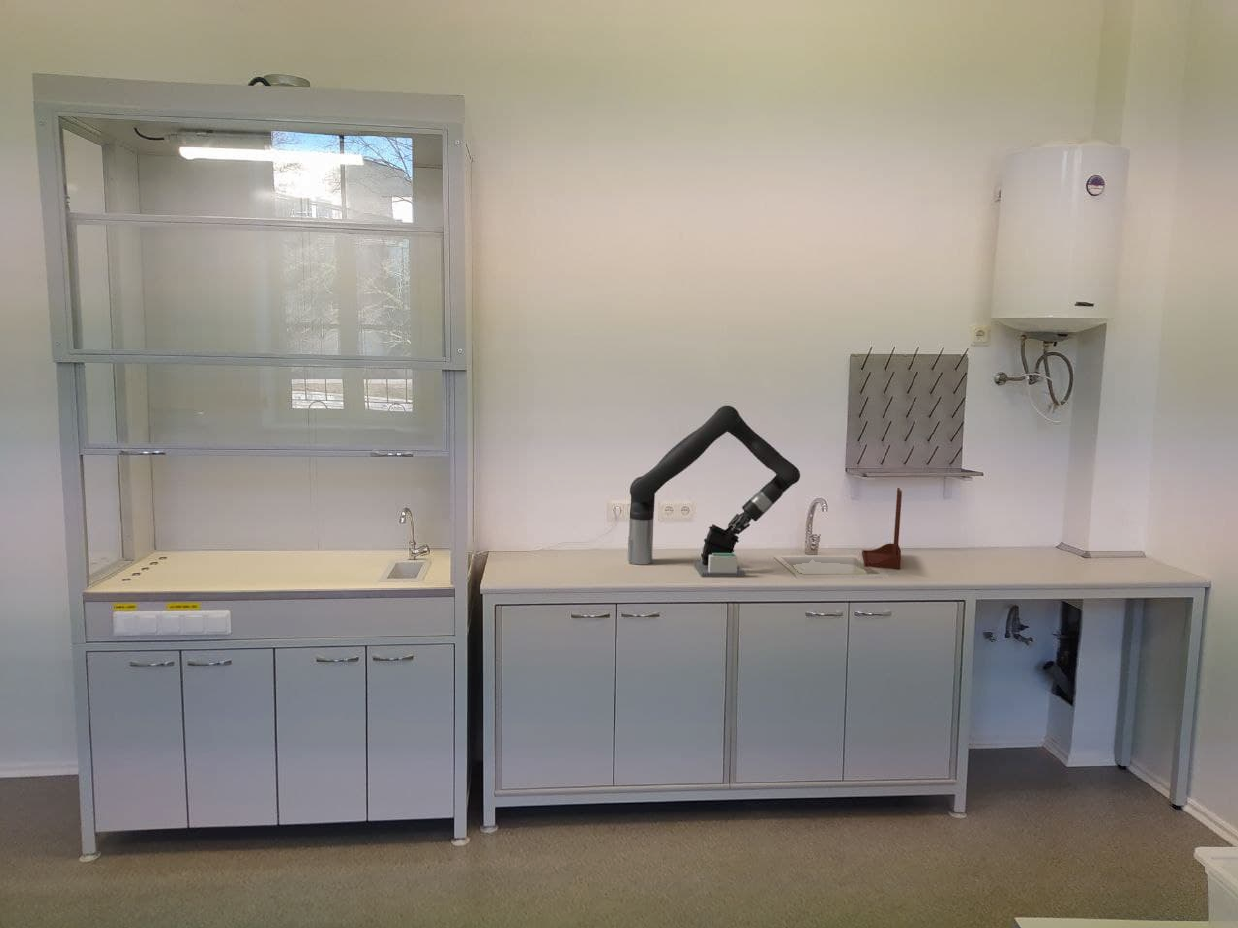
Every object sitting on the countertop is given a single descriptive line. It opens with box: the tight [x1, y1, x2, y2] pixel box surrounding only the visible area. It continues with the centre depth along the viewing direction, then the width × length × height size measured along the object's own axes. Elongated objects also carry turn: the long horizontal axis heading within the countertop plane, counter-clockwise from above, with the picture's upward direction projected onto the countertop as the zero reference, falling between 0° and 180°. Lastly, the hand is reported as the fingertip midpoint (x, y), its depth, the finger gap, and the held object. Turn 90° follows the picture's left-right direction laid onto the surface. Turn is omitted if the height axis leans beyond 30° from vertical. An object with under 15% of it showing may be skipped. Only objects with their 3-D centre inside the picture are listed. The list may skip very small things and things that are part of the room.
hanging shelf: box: [861, 487, 903, 570], centre depth 310 cm, size 24×13×30 cm, turn 165°
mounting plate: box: [692, 546, 746, 578], centre depth 287 cm, size 16×17×8 cm
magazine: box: [700, 523, 740, 565], centre depth 287 cm, size 4×13×15 cm, turn 102°
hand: (724, 537), depth 286 cm, fingers closed on magazine, 4 cm apart
